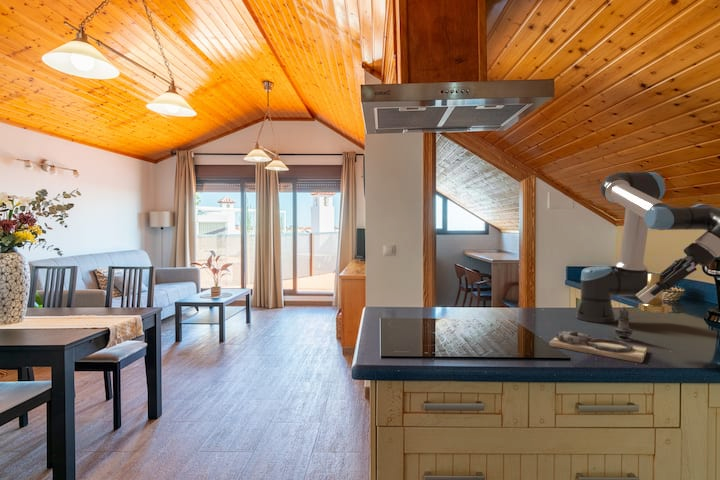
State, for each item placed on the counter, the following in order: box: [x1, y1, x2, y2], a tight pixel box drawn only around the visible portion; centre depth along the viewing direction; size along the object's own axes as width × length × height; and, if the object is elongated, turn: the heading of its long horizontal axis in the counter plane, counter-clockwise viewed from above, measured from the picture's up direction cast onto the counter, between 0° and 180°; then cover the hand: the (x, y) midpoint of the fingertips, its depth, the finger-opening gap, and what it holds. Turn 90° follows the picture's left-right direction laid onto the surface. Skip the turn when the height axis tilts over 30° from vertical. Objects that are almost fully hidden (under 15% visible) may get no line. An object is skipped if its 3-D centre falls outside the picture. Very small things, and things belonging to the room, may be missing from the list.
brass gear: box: [637, 272, 673, 314], centre depth 128 cm, size 9×9×12 cm
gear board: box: [548, 330, 648, 364], centre depth 131 cm, size 14×26×4 cm, turn 49°
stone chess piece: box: [613, 306, 634, 342], centre depth 143 cm, size 6×6×12 cm
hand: (640, 299), depth 130 cm, fingers closed on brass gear, 4 cm apart
